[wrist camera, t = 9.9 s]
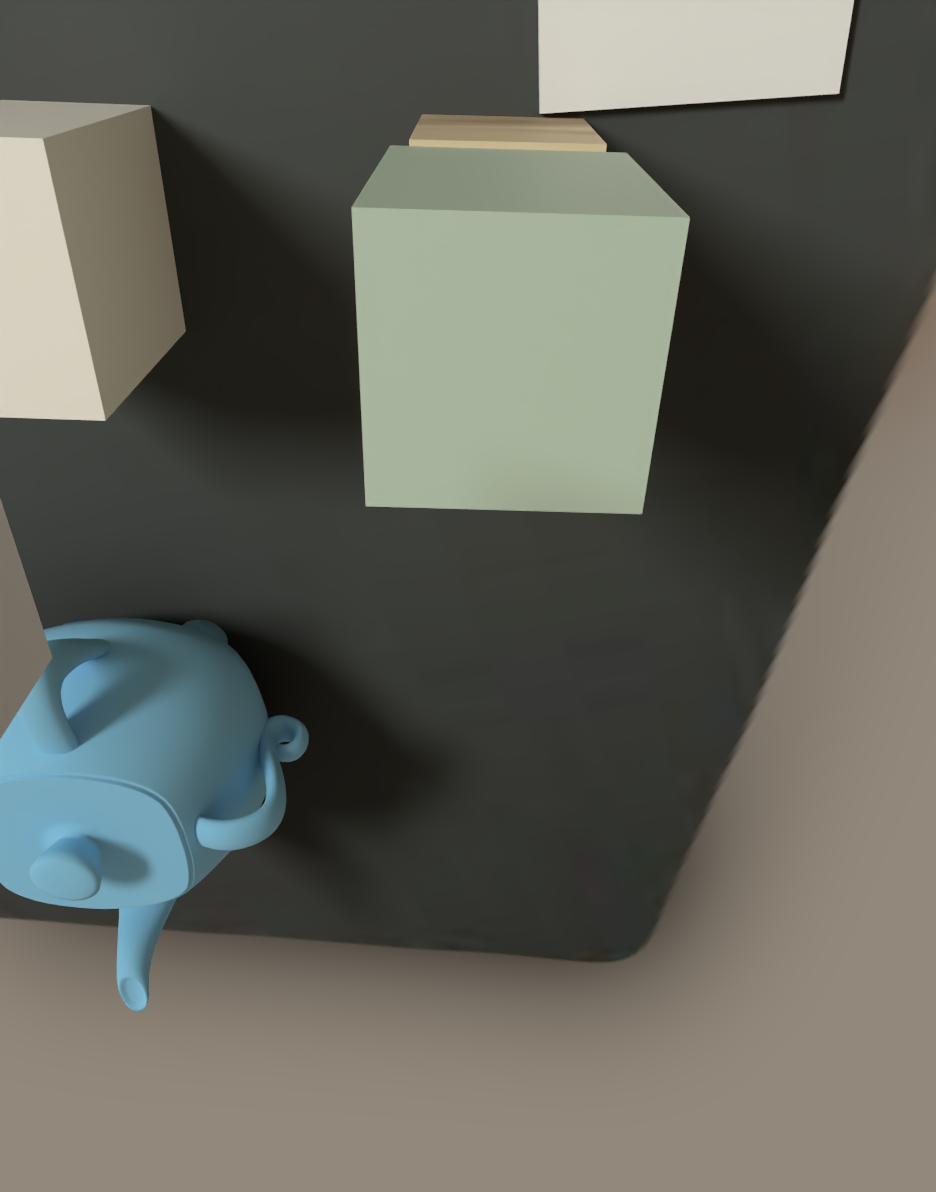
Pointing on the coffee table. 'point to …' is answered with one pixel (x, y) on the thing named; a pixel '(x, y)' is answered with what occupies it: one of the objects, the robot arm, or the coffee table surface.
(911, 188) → the coffee table surface
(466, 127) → the maple base block
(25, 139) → the cream block
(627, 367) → the sage block
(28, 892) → the teapot
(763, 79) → the page
